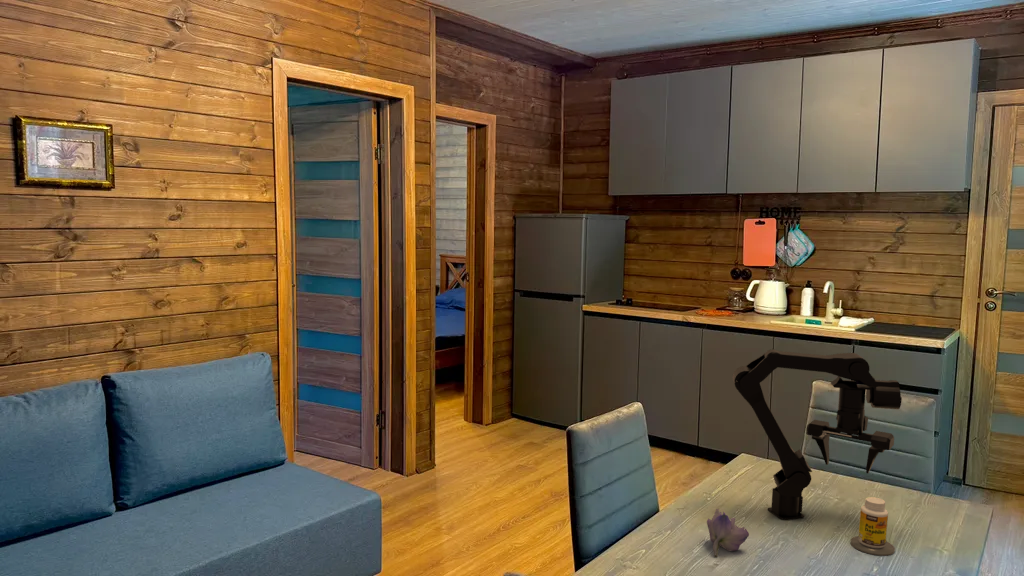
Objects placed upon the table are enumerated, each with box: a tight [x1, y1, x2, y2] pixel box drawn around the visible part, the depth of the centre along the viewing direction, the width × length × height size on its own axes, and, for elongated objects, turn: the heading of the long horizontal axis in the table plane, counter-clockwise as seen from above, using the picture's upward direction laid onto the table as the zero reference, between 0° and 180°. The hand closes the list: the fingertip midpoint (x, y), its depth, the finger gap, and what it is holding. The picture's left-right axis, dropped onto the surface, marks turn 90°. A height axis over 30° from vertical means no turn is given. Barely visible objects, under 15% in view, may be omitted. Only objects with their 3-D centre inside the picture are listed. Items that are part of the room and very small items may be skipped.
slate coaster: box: [849, 535, 896, 557], centre depth 165 cm, size 9×9×1 cm
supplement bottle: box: [857, 496, 889, 548], centre depth 165 cm, size 6×6×10 cm
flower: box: [706, 508, 750, 558], centre depth 161 cm, size 9×9×10 cm
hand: (847, 468), depth 178 cm, fingers open, 9 cm apart
